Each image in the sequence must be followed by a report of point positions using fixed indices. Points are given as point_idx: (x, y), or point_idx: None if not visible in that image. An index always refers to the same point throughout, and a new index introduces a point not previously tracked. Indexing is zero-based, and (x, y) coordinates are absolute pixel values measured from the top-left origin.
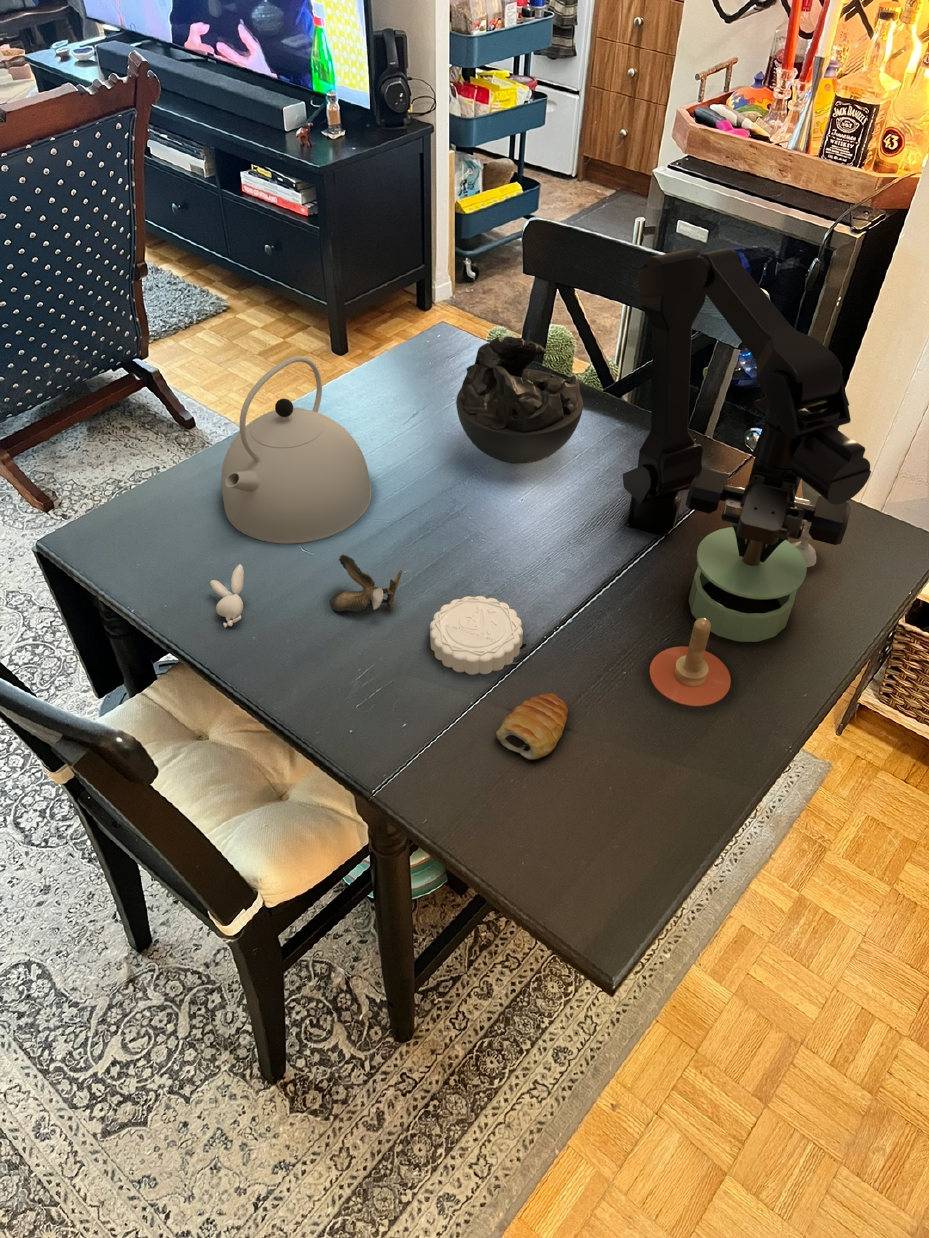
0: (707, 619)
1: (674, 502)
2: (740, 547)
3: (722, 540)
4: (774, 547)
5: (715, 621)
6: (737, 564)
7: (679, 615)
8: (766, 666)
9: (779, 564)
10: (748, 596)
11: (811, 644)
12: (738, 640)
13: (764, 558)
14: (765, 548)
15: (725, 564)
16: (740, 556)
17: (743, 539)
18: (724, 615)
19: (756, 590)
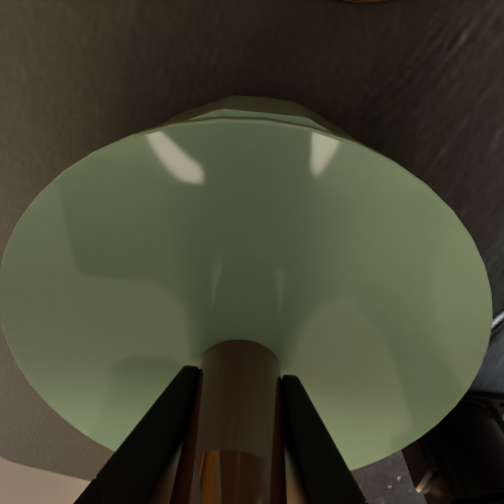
0: (343, 132)
1: (440, 485)
2: (311, 427)
3: (361, 428)
4: (105, 482)
5: (319, 119)
6: (298, 333)
7: (405, 167)
8: (130, 15)
9: (125, 370)
10: (215, 117)
11: (47, 163)
12: (232, 96)
13: (179, 386)
14: (176, 448)
15: (355, 321)
16: (291, 375)
17: (318, 501)
18: (301, 113)
19: (178, 180)
